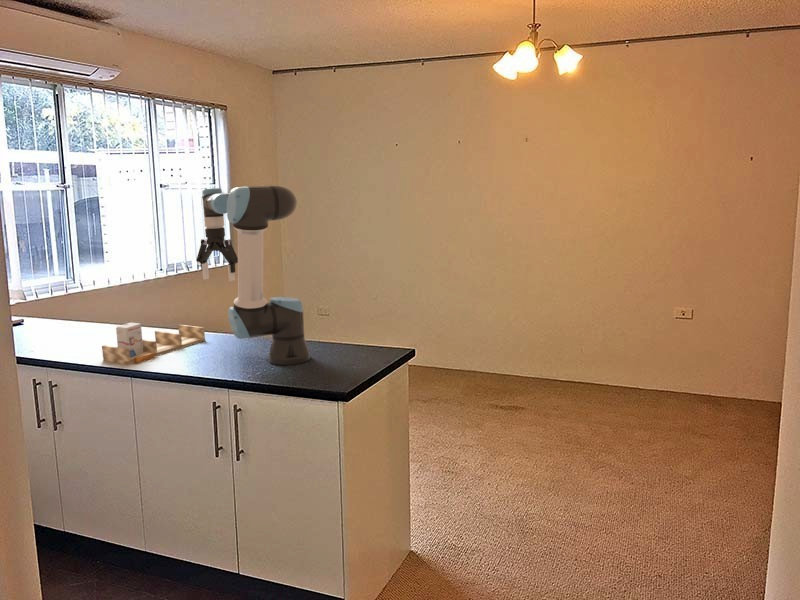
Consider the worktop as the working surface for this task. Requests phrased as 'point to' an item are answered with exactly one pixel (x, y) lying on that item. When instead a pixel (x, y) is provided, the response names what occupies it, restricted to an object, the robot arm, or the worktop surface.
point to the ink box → (130, 338)
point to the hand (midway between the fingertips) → (218, 280)
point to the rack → (156, 345)
